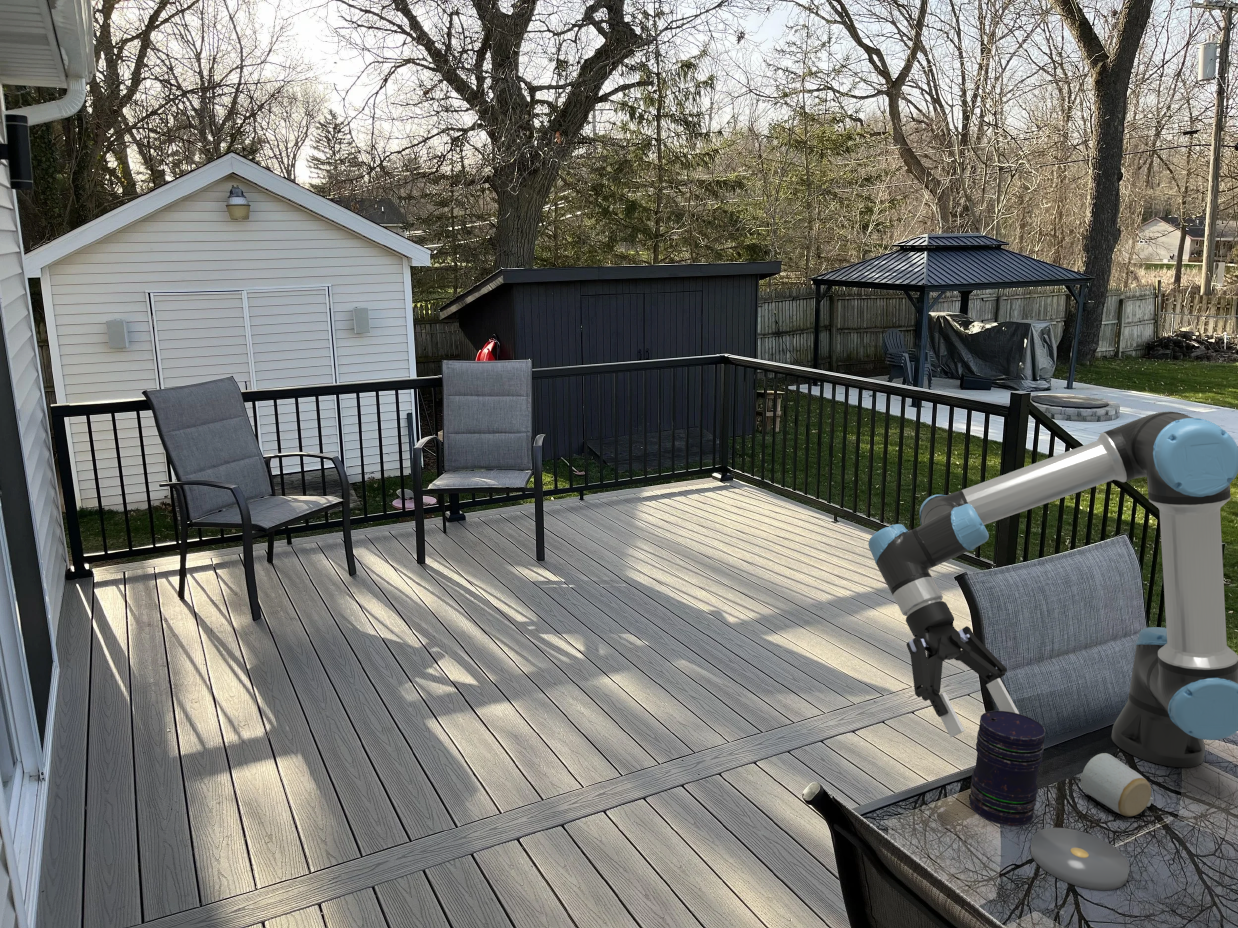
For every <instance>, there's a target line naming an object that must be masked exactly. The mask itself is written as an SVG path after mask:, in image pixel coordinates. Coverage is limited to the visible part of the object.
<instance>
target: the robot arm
mask: <svg viewBox="0 0 1238 928" xmlns="http://www.w3.org/2000/svg"><path fill="white" fill-rule="evenodd" d="M1237 475H1238V445H1237V442H1236V441H1235V439H1234V438H1233V436H1231V434H1230V433H1228V432H1227V431H1226V430H1225V429H1223V428H1222V427H1221V426H1219V425H1218V424H1216V423H1214V422H1211V421H1209V420H1207V419H1203V418H1201V417H1200V418H1198V417H1192V416H1190V415H1188V414H1185V413H1182V412H1177V411H1160V412H1159V411H1158V412H1155V413H1152V414H1149V415H1148V414H1147V415H1146V416H1143V417H1139V418H1137V419H1134V420H1132V421H1129V422H1127V423H1124V424H1122V425H1119V426H1117V427H1115V428H1114V427H1113V428H1111V429H1109V430H1105V431H1103V432H1101V433H1100V435H1099V436H1098V438H1097V439H1096V440H1094V441H1091V442H1089V443H1087V444H1084V445H1082V446H1078V447H1076V448H1073V449H1070V450H1068V451H1065V452H1061V453H1060V454H1057V455H1054V456H1052V457H1051V456H1050V457H1049V458H1046V459H1043V460H1040V461H1038V462H1035V463H1032V464H1030V465H1027V466H1024V467H1021V468H1018V469H1016V470H1013V471H1009V472H1008V473H1006V474H1003V475H1002V474H1001V475H999V476H997V477H996V476H995V477H994V478H991V479H988V480H986V481H983V482H980V483H977V484H975V485H972V486H970V487H967V488H963V489H962V490H958V491H955V492H953V493H950V494H947V495H945V494H934V495H933V494H932V495H931V496H929V497H927V498H926V499H925V500H924V501H923V502H922V504H921V505H920V508H919V524H920V526H918V527H915V528H914V529H911V530H908V529H907V528H906V527H905V525H903V524H901V523H896V524H891V525H890V526H886V527H883V528H881V529H880V530H878V531H876V532H875V533H874V534H873V535H872V536H871V537H870V538H869V540H868V544H867V546H868V549H869V551H870V553H871V555H872V558H873V560H874V563H875V565H876V567H877V569H878V570H879V572H880V574H881V576H882V578H883V580H884V582H885V583H886V586H887V588H888V590H889V592H890V594H891V595H892V596H893V599H894V601H895V603H896V604H897V606H898V608H899V610H900V613H901V614H902V615H903V616H905V623H906V624H907V627H908V628H909V631H910V633H911V634H912V636H913V637H914V638H912V639H911V640H909V641H908V642H906V647H907V650H908V653H909V655H910V661H911V671H912V678H913V687H914V693H915V694H914V695H915V696H916V697H917V698H922V700H923V701H924V702H926V701H929V702H930V704H931V706H932V708H933V711H934V712H935V713H936V715H937V716H938V718H940V719H941V722H942V723H943V725H944V727H945V730H946V731H947V733H948V735H949V738H954V737H955V736H958V735H959V734H961V733H964V732H965V731H966V730H965V729H964V727H963V724H962V723H961V720H960V718H959V716H958V714H957V713H956V711H955V709H954V707H953V705H952V703H951V702H950V699H949V697H948V695H947V693H946V692H941V686H942V685H941V684H942V673H943V662H945V661H946V660H948V661H951V660H955V661H956V662H957V661H960V662H961V663H962V664H963V665H965V666H966V667H968V668H969V669H970V670H972V671H973V672H975V673H976V674H978V675H979V676H980V677H981V678H982V679H984V680H985V681H987V682H988V683H987V684H986V685H985V686H986V688H987V689H988V692H989V693H990V695H991V697H992V699H993V700H994V702H995V704H996V706H997V708H998V711H1007V712H1013V713H1017V714H1020V712H1019V710H1018V709H1017V706H1016V705H1015V703H1014V701H1013V700H1012V697H1011V694H1010V691H1009V690H1008V687H1007V686H1006V684H1005V682H1004V681H1003V677H1004V676H1006V673H1007V671H1008V669H1007V667H1006V666H1005V665H1004V664H1003V663H1002V662H1001V661H1000V659H998V658H997V657H996V656H995V655H994V654H993V652H992V651H990V650H989V649H988V648H987V647H986V645H985V644H983V643H982V642H981V641H980V640H979V639H978V638H977V636H976V635H975V633H974V632H973V630H972V629H971V628H970V626H967V625H966V626H964V627H962V628H961V629H960V630H957V629H956V627H955V626H954V622H955V621H954V620H955V616H954V615H953V613H952V612H951V609H950V608H949V606H948V604H947V602H946V601H943V599H944V595H943V594H942V592H941V590H940V588H939V587H938V585H937V584H936V582H935V580H934V578H933V576H932V574H931V573H930V571H929V570H930V569H933V568H935V567H937V566H939V565H941V564H943V563H946V562H948V561H950V560H952V559H954V558H957V557H958V556H961V555H963V554H965V553H967V552H969V551H970V552H971V551H974V550H975V549H976V548H977V547H979V546H981V545H983V544H985V543H986V542H987V541H988V540H989V537H990V534H989V532H988V530H987V528H986V526H985V525H987V524H990V523H993V522H996V521H1000V520H1002V519H1004V518H1008V517H1010V516H1013V515H1016V514H1020V513H1022V512H1026V511H1028V510H1031V509H1033V508H1037V507H1039V506H1042V505H1046V504H1048V503H1051V502H1053V501H1057V500H1060V499H1062V498H1064V497H1069V496H1071V495H1074V494H1077V493H1079V492H1082V491H1085V490H1088V489H1091V488H1094V487H1097V486H1099V485H1102V484H1105V483H1106V484H1107V483H1109V482H1112V481H1113V480H1114V481H1119V482H1121V483H1125V482H1128V481H1131V480H1135V479H1138V478H1145V477H1146V478H1147V479H1146V481H1147V497H1148V502H1149V503H1151V504H1153V505H1154V506H1155V507H1156V508H1158V510H1159V524H1160V525H1159V526H1160V541H1161V543H1160V544H1161V557H1162V558H1161V559H1162V571H1163V572H1162V576H1163V577H1162V578H1163V591H1164V592H1163V594H1164V610H1165V627H1162V626H1161V627H1157V626H1156V627H1155V626H1154V627H1153V626H1150V627H1145V628H1143V629H1141V630H1140V631H1139V633H1138V636H1137V640H1136V641H1135V651H1134V660H1133V664H1132V665H1133V666H1132V671H1131V679H1130V685H1129V689H1128V690H1129V691H1128V698H1127V701H1126V702H1125V703H1126V704H1125V705H1124V707H1123V709H1122V710H1121V711H1120V712H1119V715H1118V717H1117V718H1116V720H1115V721H1114V723H1113V725H1112V730H1111V740H1112V742H1113V743H1114V744H1115V745H1116V746H1117V747H1118V748H1120V749H1121V750H1122V751H1124V752H1125V753H1128V754H1129V755H1130V756H1131V755H1132V756H1133V757H1136V758H1139V759H1140V760H1143V761H1146V762H1150V763H1154V764H1157V765H1161V766H1166V767H1173V768H1192V767H1193V768H1195V767H1197V766H1200V765H1201V764H1202V763H1203V762H1204V757H1205V753H1206V752H1205V751H1206V746H1205V741H1217V740H1223V739H1226V738H1230V737H1231V736H1234V735H1235V734H1237V732H1238V654H1237V653H1236V652H1235V651H1234V650H1233V649H1232V648H1230V647H1229V646H1228V644H1227V627H1226V626H1227V625H1226V624H1227V623H1226V609H1225V608H1226V604H1225V603H1226V601H1225V587H1224V586H1225V585H1224V584H1225V582H1224V561H1223V539H1222V523H1221V521H1222V520H1221V519H1222V518H1221V508H1222V507H1223V506H1224V505H1226V504H1227V502H1229V501H1230V500H1231V498H1232V497H1231V496H1232V495H1231V483H1232V482H1233V480H1235V479H1236V477H1237ZM1204 740H1205V741H1204Z"/></svg>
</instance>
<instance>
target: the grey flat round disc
mask: <svg viewBox="0 0 1238 928" xmlns="http://www.w3.org/2000/svg"><path fill="white" fill-rule="evenodd" d="M1031 838H1032V839H1031V842H1030V855H1031V857H1032V859H1033V860H1034V861H1035V863H1036V864H1037V865H1038V867H1040V868H1041V869H1043V870H1044V871H1045V872H1046V873H1048V874H1049V875H1051V876H1053V877H1055V878H1057V879H1059V880H1061V881H1063V882H1065V883H1067V884H1070V885H1073V886H1077V887H1079V888H1083V889H1089V890H1095V891H1110V890H1111V891H1112V890H1117V889H1119V888H1121V887H1123V886H1124V885H1126V883H1127V881H1128V878H1129V871H1130V864H1129V861H1128V859H1127V858H1126V856H1125V855H1124V854H1123V853H1122V852H1121V851H1120V850H1119V849H1118V848H1116V847H1115V846H1114V845H1112V844H1110V843H1109V842H1107V841H1105V840H1104V839H1102V838H1099V837H1097V836H1096V835H1093V834H1090V833H1087V832H1084V831H1081V830H1078V829H1077V830H1076V829H1072V828H1065V827H1048V828H1043V829H1040V830H1038V831H1036V832H1035V833H1034V834H1033V835H1032V837H1031Z"/></svg>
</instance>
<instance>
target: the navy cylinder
mask: <svg viewBox="0 0 1238 928" xmlns="http://www.w3.org/2000/svg"><path fill="white" fill-rule="evenodd" d="M1045 736H1046V729H1045V727H1044V725H1042V724H1041V723H1040V722H1039V721H1037V720H1035V719H1033V718H1032V717H1029V716H1027V715H1024V714H1021V713H1019V714H1017V713H1013V712H1007V711H1000V710H991V711H989V710H988V711H986V712H983V713H982V714H981V715H980V717H979V727H978V730H977V735H976V740H977V741H976V743H975V747H976V748H975V750H976V753H977V754H976V760H975V761H976V762H975V768H974V769H973V770H972V774H971V780H970V781H971V782H970V798H969V802H970V803H969V807H970V806H971V807H970V808H971V810H972V811H973V810H974V811H973V812H974V813H975V814H976V815H978V816H979V817H981V818H983V819H984V820H986V821H988V822H991V823H994V824H996V825H997V824H998V825H1001V826H1005V827H1016V828H1017V827H1023V826H1028V825H1030V824H1031V823H1032V822H1033V819H1034V810H1035V806H1036V805H1037V799H1038V798H1037V796H1038V793H1039V790H1038V788H1039V787H1038V784H1037V781H1038V780H1037V779H1038V774H1039V769H1040V768H1039V767H1041V765H1042V762H1043V754H1044V750H1045V749H1044V748H1045V746H1044V743H1045Z"/></svg>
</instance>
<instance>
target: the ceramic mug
mask: <svg viewBox="0 0 1238 928" xmlns="http://www.w3.org/2000/svg"><path fill="white" fill-rule="evenodd" d="M1080 785H1081V788H1082V790H1083V791H1084V792H1085V793H1086V794H1087V795H1089V796H1091V797H1092V798H1093V799H1095V800H1097V801H1098V802H1100V803H1101V804H1103V805H1105V806H1106V807H1107V808H1109V809H1111V810H1113V811H1114V812H1116V813H1118V814H1120V815H1121V816H1125V817H1133V816H1137V815H1139V814H1140V813H1141V812H1143V811H1144V810H1145V809H1146V808H1147V807H1148V808H1149V807H1150V806H1151V804H1152V803H1153V802H1154V798H1153V797H1152V787H1151V784H1150V783H1149V781H1148V780H1147V779H1146V778H1145V777H1144V776H1142V775H1141V774H1140V773H1139V772H1137V771H1136V770H1134V769H1132V768H1130V766H1128V765H1126V763H1124V762H1122V761H1120V760H1119V759H1118V758H1116V756H1113V755H1111V754H1110V753H1107V752H1104V753H1103V752H1102V753H1099V754H1096V755H1095V756H1093V757H1091V758H1090V760H1088V762H1087V763H1086V765H1085V766H1084V768H1083V771H1082V773H1081V777H1080Z"/></svg>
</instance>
